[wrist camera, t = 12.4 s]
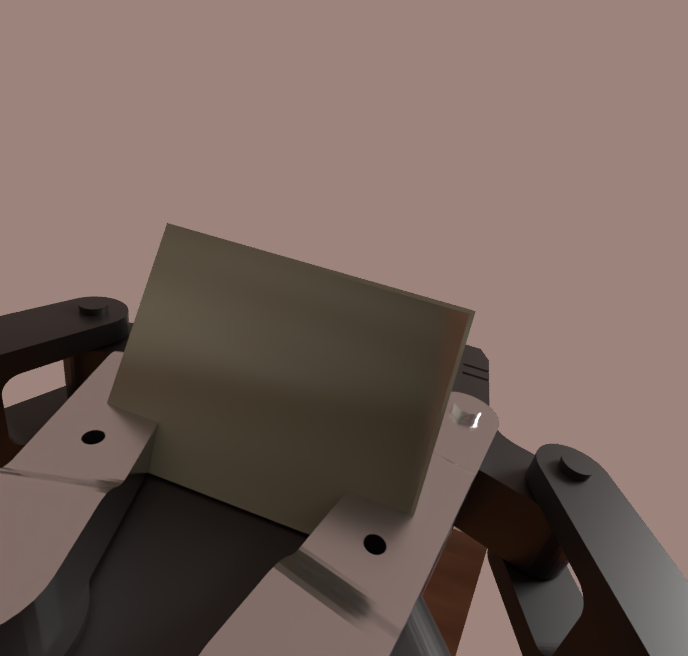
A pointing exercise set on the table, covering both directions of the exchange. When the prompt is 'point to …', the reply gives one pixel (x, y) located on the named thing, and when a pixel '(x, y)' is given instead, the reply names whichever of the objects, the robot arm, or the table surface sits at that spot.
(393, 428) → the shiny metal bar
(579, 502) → the robot arm
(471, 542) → the walnut cabinet
